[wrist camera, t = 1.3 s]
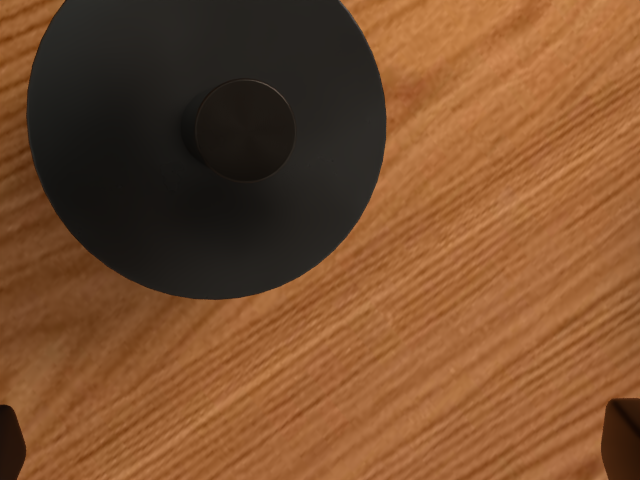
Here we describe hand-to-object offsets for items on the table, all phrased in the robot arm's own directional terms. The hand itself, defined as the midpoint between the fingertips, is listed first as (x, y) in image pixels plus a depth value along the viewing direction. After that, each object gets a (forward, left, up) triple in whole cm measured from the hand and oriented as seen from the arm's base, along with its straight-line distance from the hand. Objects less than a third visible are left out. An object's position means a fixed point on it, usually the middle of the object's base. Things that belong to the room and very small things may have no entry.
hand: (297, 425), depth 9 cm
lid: (+1, +4, -11) cm, 11 cm away
